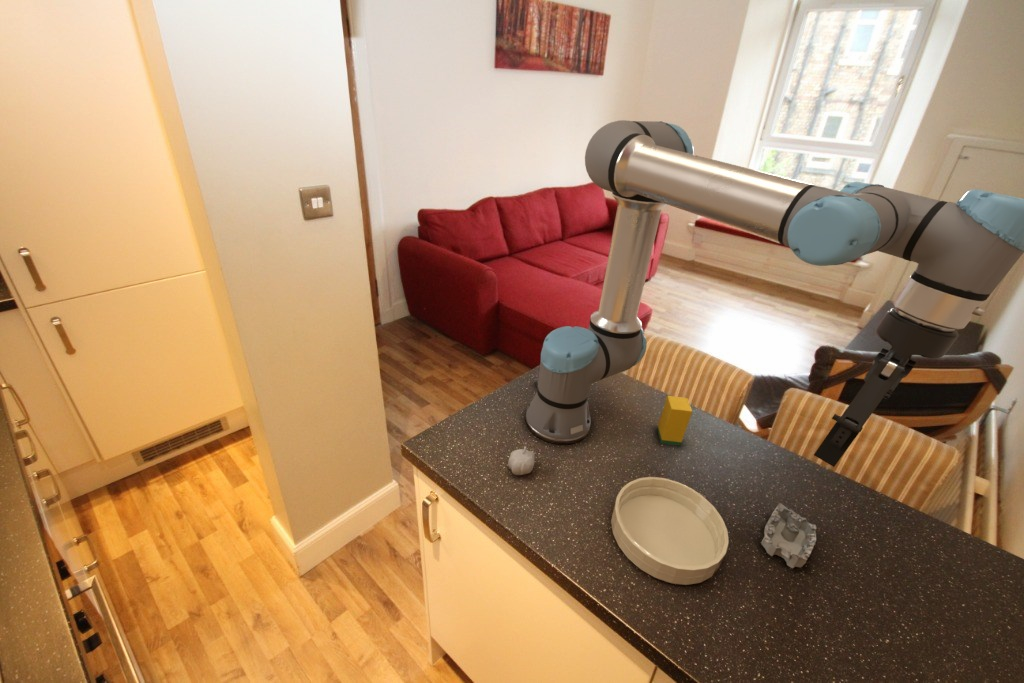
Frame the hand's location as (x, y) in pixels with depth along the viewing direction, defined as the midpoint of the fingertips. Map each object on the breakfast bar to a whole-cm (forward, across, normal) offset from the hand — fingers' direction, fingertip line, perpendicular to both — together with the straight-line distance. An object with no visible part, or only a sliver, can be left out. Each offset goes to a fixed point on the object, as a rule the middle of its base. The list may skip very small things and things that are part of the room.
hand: (837, 442), depth 67 cm
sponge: (+26, +13, +27) cm, 40 cm away
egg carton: (+25, +5, -2) cm, 26 cm away
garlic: (+30, -22, +40) cm, 55 cm away
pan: (+27, -12, +13) cm, 32 cm away
